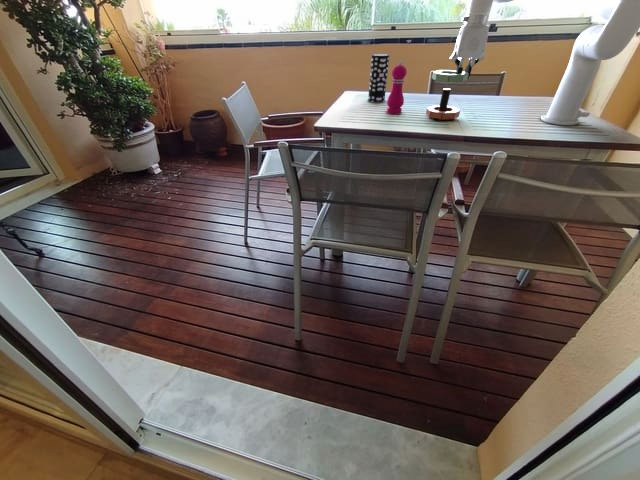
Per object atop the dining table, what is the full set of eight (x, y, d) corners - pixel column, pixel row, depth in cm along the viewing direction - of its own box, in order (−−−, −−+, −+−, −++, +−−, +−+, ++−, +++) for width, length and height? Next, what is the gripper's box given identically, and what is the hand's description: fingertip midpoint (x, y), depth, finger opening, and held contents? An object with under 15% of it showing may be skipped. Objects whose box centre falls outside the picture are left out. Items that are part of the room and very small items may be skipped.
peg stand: (446, 114, 129) (453, 86, 123) (453, 120, 123) (460, 90, 116) (428, 115, 129) (434, 87, 123) (434, 120, 123) (440, 91, 116)
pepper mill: (382, 112, 133) (388, 61, 121) (391, 109, 137) (397, 59, 125) (396, 115, 129) (404, 62, 117) (405, 112, 133) (413, 60, 121)
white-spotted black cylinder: (372, 98, 157) (376, 53, 145) (387, 100, 153) (392, 54, 141) (365, 101, 152) (368, 55, 140) (379, 103, 148) (384, 56, 136)
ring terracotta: (451, 111, 130) (452, 105, 129) (462, 118, 121) (464, 112, 119) (423, 111, 130) (424, 105, 129) (432, 119, 120) (433, 113, 119)
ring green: (458, 76, 122) (460, 69, 121) (471, 81, 112) (473, 74, 111) (428, 76, 122) (429, 70, 121) (438, 82, 112) (440, 75, 111)
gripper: (457, 21, 103) (444, 80, 114) (504, 20, 103) (486, 80, 114) (450, 20, 109) (438, 77, 120) (493, 20, 109) (477, 76, 120)
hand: (461, 78), depth 117 cm, fingers closed on ring green, 2 cm apart
